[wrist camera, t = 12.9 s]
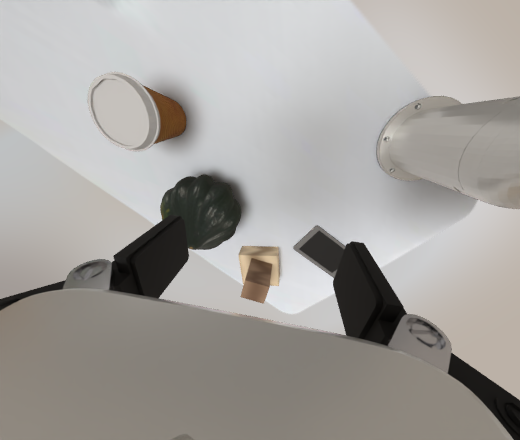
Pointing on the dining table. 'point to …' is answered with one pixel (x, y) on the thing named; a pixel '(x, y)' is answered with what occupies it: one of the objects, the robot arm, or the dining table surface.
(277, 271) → the oak base block
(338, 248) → the smartphone
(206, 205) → the squash
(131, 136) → the disposable coffee cup
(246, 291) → the walnut block
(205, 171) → the dining table surface
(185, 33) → the dining table surface
